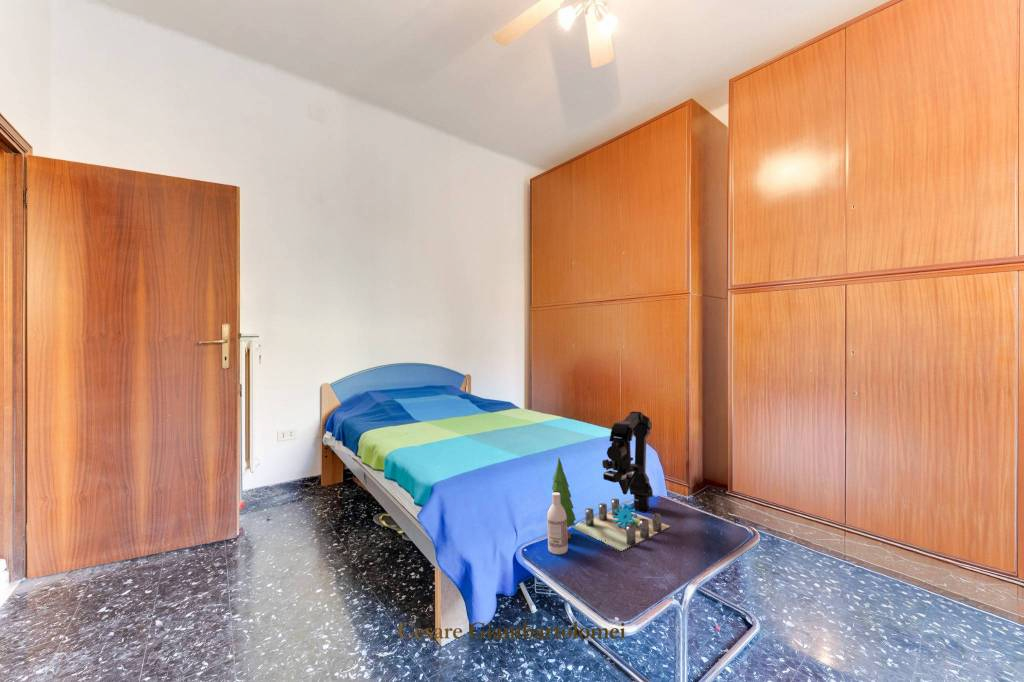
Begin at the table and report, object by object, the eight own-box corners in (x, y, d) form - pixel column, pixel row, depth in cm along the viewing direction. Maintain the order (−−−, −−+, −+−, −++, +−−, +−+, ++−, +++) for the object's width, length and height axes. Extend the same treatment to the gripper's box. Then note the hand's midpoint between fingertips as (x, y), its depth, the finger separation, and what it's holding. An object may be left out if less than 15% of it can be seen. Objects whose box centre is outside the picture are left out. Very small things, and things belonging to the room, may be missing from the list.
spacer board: (620, 508, 175) (620, 507, 175) (669, 527, 155) (669, 526, 155) (572, 528, 157) (572, 527, 157) (621, 552, 138) (621, 550, 138)
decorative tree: (557, 528, 157) (555, 453, 158) (580, 533, 153) (577, 455, 153) (548, 539, 148) (545, 459, 149) (572, 544, 144) (569, 462, 145)
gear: (607, 519, 159) (620, 498, 162) (613, 526, 162) (626, 506, 165) (629, 533, 150) (642, 511, 153) (635, 540, 153) (648, 518, 156)
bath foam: (569, 554, 137) (567, 496, 138) (549, 555, 137) (547, 497, 137) (565, 544, 144) (563, 489, 144) (546, 545, 144) (545, 490, 144)
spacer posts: (615, 512, 170) (614, 498, 171) (663, 530, 152) (662, 515, 152) (584, 524, 159) (583, 509, 159) (632, 546, 140) (631, 529, 141)
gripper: (621, 447, 169) (623, 483, 169) (592, 455, 158) (593, 494, 158) (644, 452, 160) (645, 490, 160) (614, 460, 149) (615, 502, 149)
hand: (624, 494), depth 157 cm, fingers closed
